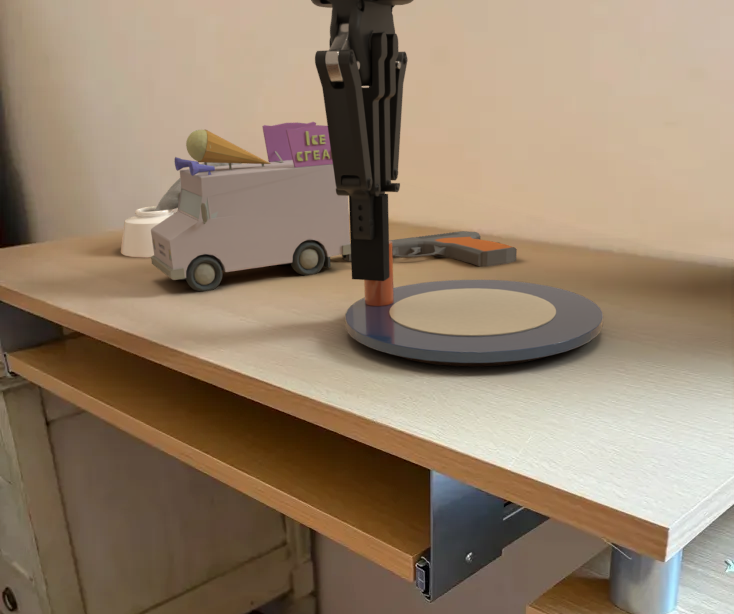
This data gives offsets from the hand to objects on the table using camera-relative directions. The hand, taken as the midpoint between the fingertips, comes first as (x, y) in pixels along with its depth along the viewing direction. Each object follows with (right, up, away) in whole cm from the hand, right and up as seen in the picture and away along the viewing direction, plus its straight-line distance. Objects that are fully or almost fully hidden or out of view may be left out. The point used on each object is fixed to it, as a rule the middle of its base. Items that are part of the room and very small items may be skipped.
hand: (370, 277), depth 66 cm
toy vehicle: (-12, +3, +21) cm, 24 cm away
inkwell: (-22, +10, +38) cm, 45 cm away
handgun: (+6, +5, +24) cm, 26 cm away
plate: (+8, -3, 0) cm, 9 cm away
